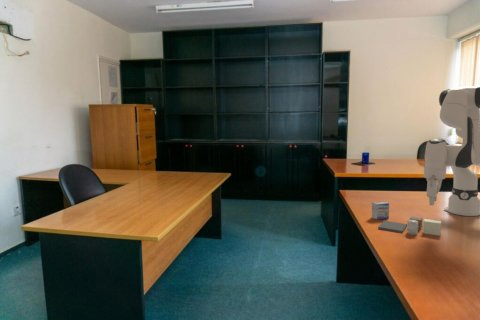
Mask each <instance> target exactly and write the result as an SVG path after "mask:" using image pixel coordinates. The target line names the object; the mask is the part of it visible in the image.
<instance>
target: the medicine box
mask: <svg viewBox="0 0 480 320" xmlns="http://www.w3.org/2000/svg"><path fill="white" fill-rule="evenodd" d="M371 218H372V219H374V220H377V221H379V220H384V219H385V220H386V219H389V218H390V202H387V201H377V202H371Z"/></svg>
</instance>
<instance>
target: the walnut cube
mask: <svg viewBox="0 0 480 320" xmlns="http://www.w3.org/2000/svg"><path fill="white" fill-rule="evenodd" d="M409 220H416V221H418V231H419V230H422V229H423V220H424V218H423V217H421V216H416V215H410V217H409Z"/></svg>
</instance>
